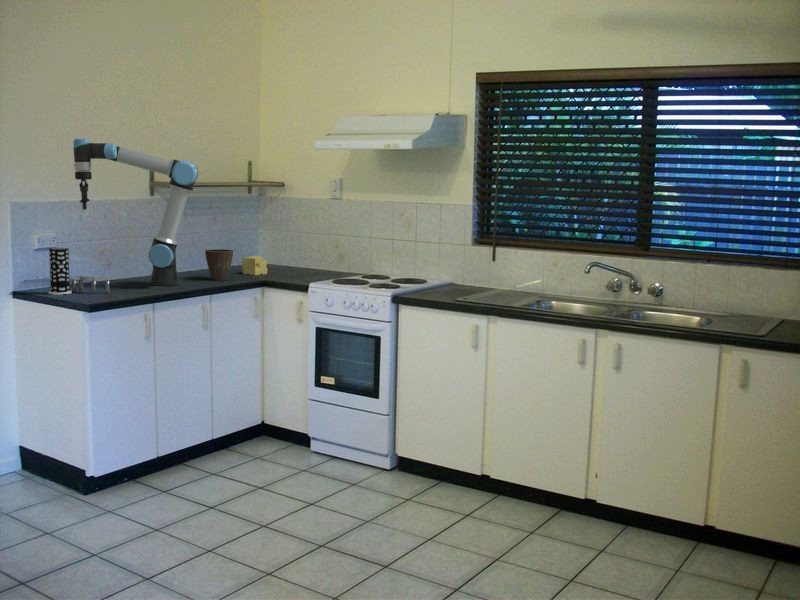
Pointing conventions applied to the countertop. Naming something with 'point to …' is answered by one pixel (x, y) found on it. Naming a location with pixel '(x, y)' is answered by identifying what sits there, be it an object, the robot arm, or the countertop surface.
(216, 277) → the plant pot
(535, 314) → the countertop surface
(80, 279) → the small grey table
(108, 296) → the countertop surface
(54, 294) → the coaster
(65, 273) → the spotted tube
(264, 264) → the cheese
